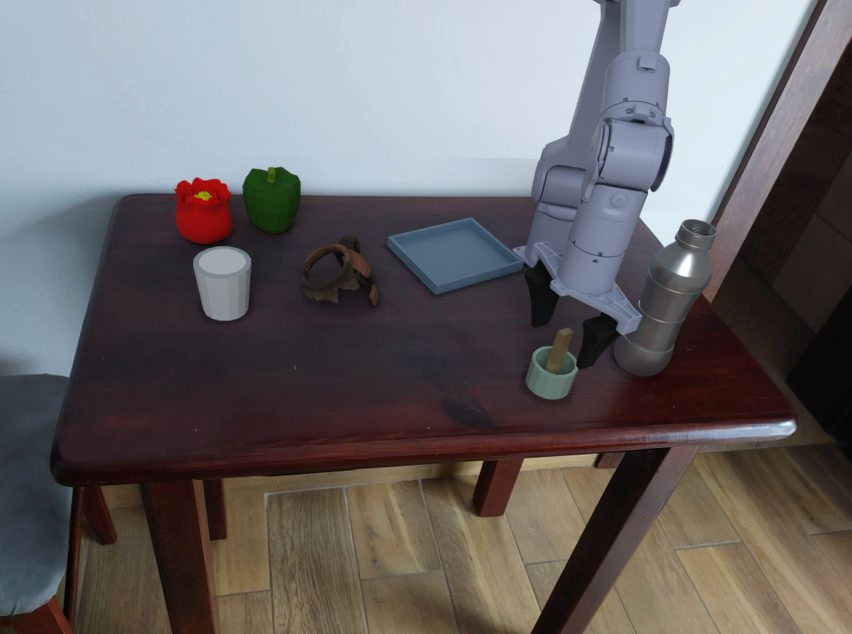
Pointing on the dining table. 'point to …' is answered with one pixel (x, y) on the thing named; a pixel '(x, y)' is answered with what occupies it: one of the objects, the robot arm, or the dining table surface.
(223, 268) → the shot glass
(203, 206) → the flower
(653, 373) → the grey metal bottle
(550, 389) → the espresso cup
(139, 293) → the dining table surface
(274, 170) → the bell pepper
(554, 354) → the stirrer
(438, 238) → the spoon tray
